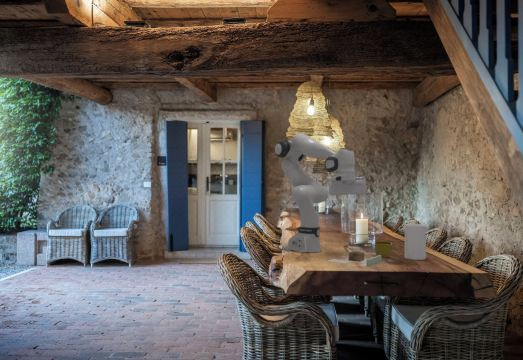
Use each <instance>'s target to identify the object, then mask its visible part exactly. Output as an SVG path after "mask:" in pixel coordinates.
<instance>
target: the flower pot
mask: <svg viewBox="0 0 523 360" xmlns="http://www.w3.org/2000/svg"><path fill="white" fill-rule="evenodd" d="M374 247H375V248H374V250H375V254H376V256H378V255H381V259H383V258H385V259H389V258H390V257H391V255H392V247H393V243H392V242H391V241H379V240H378V241H376V240H375V241H374Z"/></svg>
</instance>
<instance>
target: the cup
mask: <svg viewBox="0 0 523 360" xmlns="http://www.w3.org/2000/svg"><path fill="white" fill-rule="evenodd" d="M403 251H404V254H403V255H404V258H405V259H406V260H410V261H411V260H413V261H424V260H426V258H427V224H422V223H405V224H404V250H403Z"/></svg>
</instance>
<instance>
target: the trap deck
mask: <svg viewBox="0 0 523 360" xmlns="http://www.w3.org/2000/svg"><path fill="white" fill-rule="evenodd" d="M340 257H341V258H345V256H342V255H341V256H340ZM346 258H347V259H335V258H331V259H329V260H327V262H331V263H338V264H339V263H340V264H348V263H350V262H353V263H362V264H360V266H362V267H370V266H373V265H375V264H377V263H380V262H382V257H381V255H378V256H377V255H376V256H373V257H369V258H364V260H363V261H360V262H358V261H350V260H349V256H346Z"/></svg>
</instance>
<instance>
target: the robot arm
mask: <svg viewBox="0 0 523 360" xmlns="http://www.w3.org/2000/svg"><path fill="white" fill-rule="evenodd" d="M273 150H274V154H275V156H276V157H278V158H281V159H283V160H282V161H281V164H280V165H281V169H282V172H283V174H284V175H285V177H286V179H288V181H289V182H290V184H291V186H292V187H293V188H292V191H291V195H290V196H291V199H292V200H293V202H294V203H295V205H297V207H298V210H299V215H300V226H298V227H297V228H296V230H297V232H296V233H295V234H294V235H293V236H291V237H290V238H289V239H288V243H287V246H285V247H283V250H286V251H291V250H294V251H293V252H297V251H298V252H299V253H317V252H318V253H319V252H322V246H321V240H320V235H321V227H320V214H319V212H318V211H317V210H316V209H315V207H314V204H320V203H324V202H326V201H327V200H328V199H329V196H335V199H337V202H338V205H339V204H342V203H343V201H342V200H341V199H340V196H350V195H351V196H352V195H355V196H356V197H357V198H356V199H355V200H354V203H355V204H358V203H359V201H360V198H361V195H366V194H367V192H368V191H367V180H366V178H365V177H361V176H360V177H357V176H356V170H355V165H356V161H355V160H356V159H355V153H354V151H353V150H352V149H351V148H339V149H338V151H337V152H336V151H335V150H333V149H331V148H330V147H329V148H328V147H327V146H325V145H324V144H323V143H320V142H319V141H317V140H316V139H315V138H313V137H311V136H310V135H307V134H306V133H302V132H298V133H296V134H294V136H293V137H292V139H291V140H288V139H283V140H280V141H277V142H276V143H275V145H274V149H273ZM305 156H306V157H308V158H312V159H313V158H314V159H323V160H324V167H325V170H326V172H328V173H330V174H337V175H335V176H333V177H331V178H330V183H329V189H328V188H327V187H326V186H324V185H322V184H320V183H318V182H317V181H316V180H314V179H313V178H312V177H311V176H309V175H308V173H307V172H306V171H305V170H304V168H303V166H301V164H299V163H300V162H301V161H303V158H304V157H305Z"/></svg>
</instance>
